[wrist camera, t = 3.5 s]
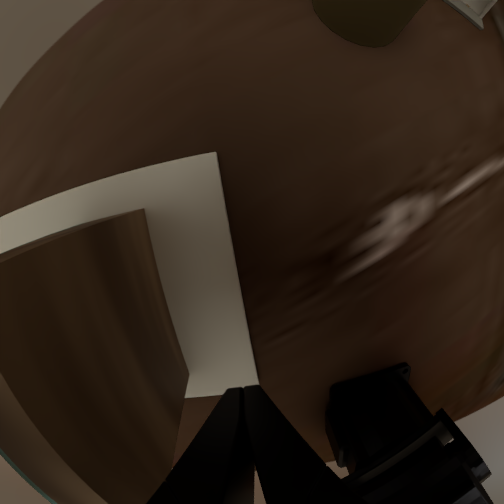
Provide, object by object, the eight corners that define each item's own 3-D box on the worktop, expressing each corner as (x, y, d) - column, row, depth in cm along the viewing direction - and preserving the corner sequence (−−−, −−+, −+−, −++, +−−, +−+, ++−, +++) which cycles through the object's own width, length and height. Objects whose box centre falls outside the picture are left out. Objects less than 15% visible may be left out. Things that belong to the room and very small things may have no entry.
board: (217, 153, 14) (215, 151, 13) (258, 379, 17) (259, 389, 16) (-34, 235, 13) (-42, 238, 13) (21, 382, 17) (16, 388, 16)
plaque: (144, 208, 13) (-38, 281, 3) (189, 374, 16) (160, 541, 5) (80, 224, 13) (-88, 296, 3) (131, 377, 16) (73, 520, 5)
